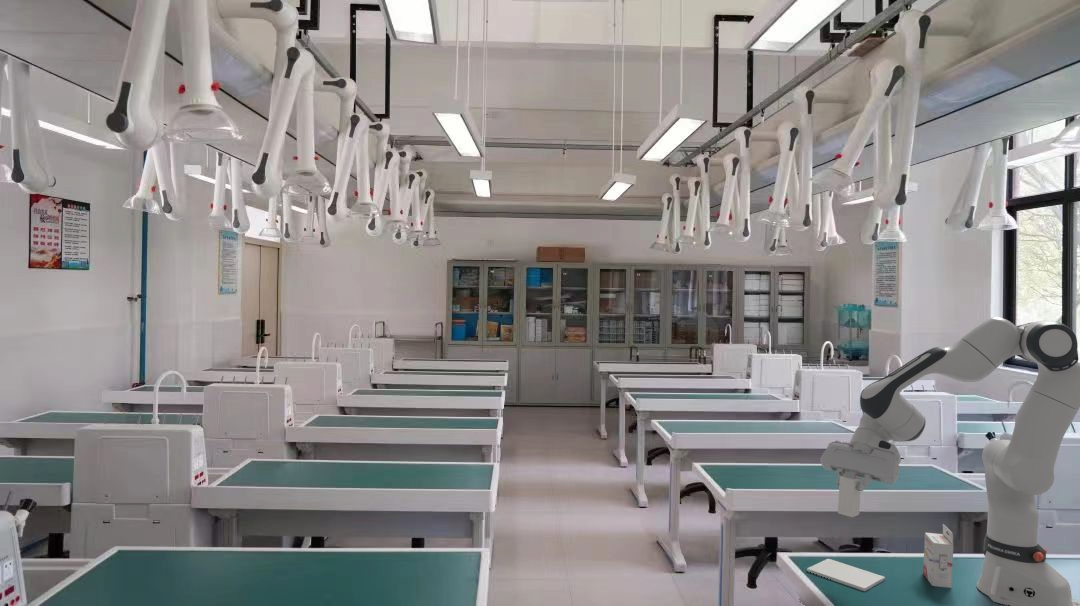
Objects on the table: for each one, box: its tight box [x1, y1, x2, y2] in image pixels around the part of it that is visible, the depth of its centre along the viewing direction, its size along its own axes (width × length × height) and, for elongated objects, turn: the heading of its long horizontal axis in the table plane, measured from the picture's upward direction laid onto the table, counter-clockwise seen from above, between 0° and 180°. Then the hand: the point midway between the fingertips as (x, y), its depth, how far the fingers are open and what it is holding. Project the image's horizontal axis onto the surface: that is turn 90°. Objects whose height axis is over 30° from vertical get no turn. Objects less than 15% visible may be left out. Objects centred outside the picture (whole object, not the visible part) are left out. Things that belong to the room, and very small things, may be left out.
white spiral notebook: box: [806, 558, 886, 592], centre depth 198 cm, size 16×12×1 cm
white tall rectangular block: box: [837, 471, 862, 518], centre depth 197 cm, size 4×4×11 cm
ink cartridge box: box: [922, 523, 954, 589], centre depth 196 cm, size 9×5×15 cm, turn 169°
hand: (848, 487), depth 197 cm, fingers closed on white tall rectangular block, 4 cm apart
